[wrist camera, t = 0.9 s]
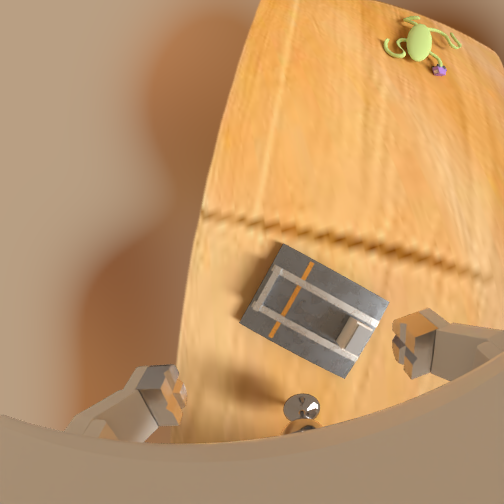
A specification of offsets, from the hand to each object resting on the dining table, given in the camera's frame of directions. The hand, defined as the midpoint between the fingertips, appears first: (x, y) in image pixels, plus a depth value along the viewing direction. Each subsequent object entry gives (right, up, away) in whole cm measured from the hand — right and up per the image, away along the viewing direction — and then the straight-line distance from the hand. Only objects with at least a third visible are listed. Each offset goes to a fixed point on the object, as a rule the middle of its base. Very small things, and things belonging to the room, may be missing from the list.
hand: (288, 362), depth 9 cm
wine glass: (+8, -27, +39) cm, 48 cm away
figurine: (+46, +61, +41) cm, 86 cm away
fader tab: (+16, -10, +37) cm, 41 cm away
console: (+10, -7, +40) cm, 42 cm away
